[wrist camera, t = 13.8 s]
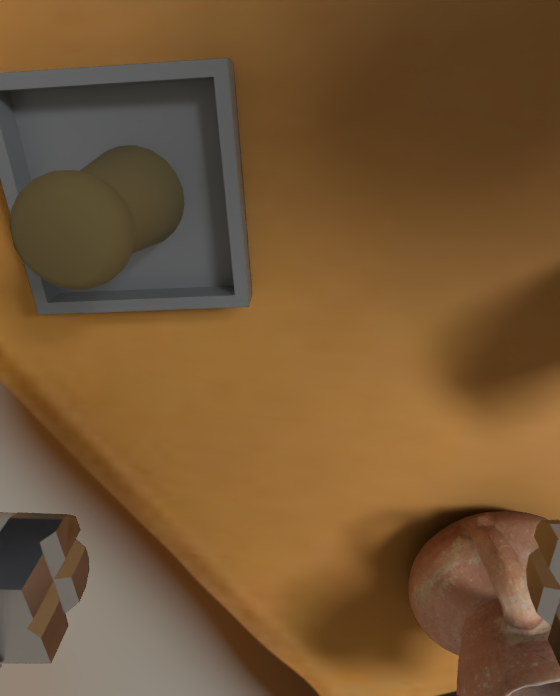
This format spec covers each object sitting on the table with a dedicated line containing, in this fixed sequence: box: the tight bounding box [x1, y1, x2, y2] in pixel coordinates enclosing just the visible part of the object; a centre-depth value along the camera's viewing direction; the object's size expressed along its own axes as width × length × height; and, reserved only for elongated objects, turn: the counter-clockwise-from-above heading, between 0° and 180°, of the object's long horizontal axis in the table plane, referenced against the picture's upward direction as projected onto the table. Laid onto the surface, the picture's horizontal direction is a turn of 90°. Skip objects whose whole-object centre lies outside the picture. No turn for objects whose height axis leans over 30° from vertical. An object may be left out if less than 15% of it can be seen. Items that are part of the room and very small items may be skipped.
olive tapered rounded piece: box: [10, 145, 185, 290], centre depth 26 cm, size 6×6×11 cm
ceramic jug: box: [408, 511, 560, 696], centre depth 37 cm, size 18×14×14 cm
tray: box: [0, 58, 252, 315], centre depth 30 cm, size 14×14×2 cm
